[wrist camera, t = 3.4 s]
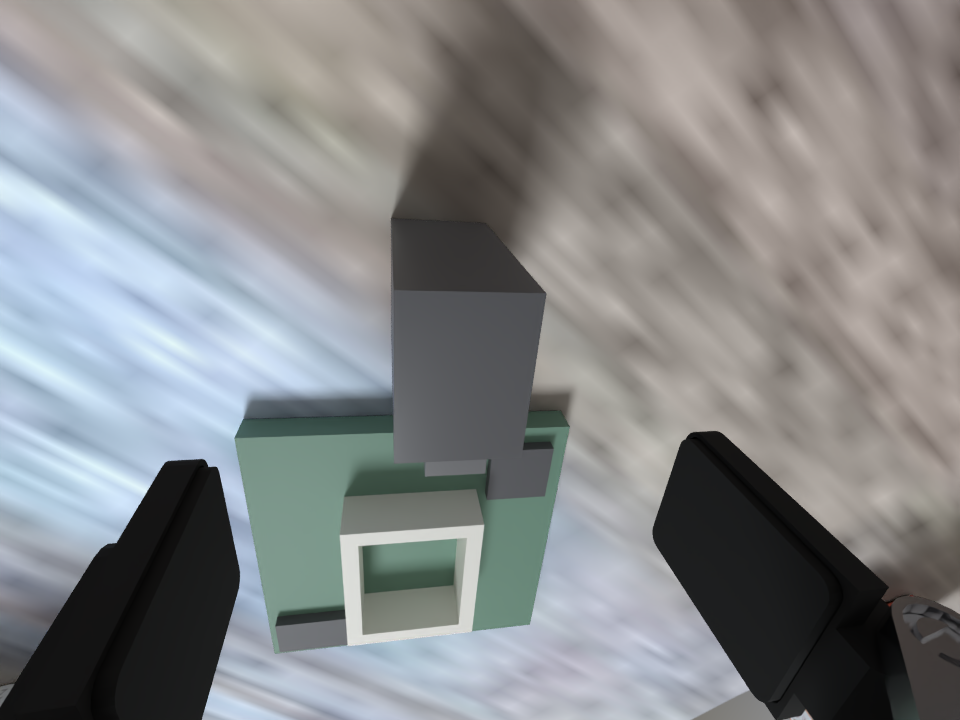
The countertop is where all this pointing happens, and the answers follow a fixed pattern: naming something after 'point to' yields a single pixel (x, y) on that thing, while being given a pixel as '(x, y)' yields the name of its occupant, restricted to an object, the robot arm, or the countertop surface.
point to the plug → (460, 346)
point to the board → (392, 531)
